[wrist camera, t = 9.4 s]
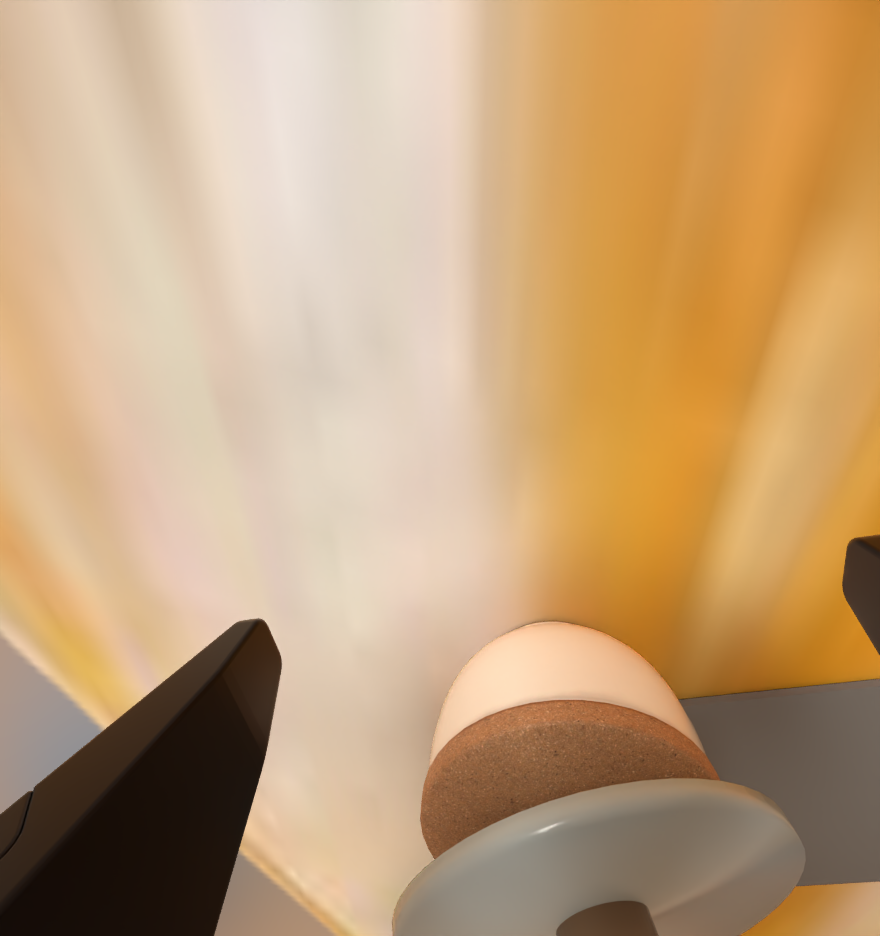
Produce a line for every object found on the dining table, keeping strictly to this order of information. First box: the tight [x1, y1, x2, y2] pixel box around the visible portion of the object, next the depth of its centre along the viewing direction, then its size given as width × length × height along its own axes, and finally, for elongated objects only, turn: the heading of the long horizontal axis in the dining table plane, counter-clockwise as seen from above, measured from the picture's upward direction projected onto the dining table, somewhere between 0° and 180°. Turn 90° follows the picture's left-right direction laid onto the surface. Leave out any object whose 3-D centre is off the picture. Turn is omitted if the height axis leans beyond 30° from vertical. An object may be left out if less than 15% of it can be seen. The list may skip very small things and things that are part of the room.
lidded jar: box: [420, 621, 720, 859], centre depth 22 cm, size 11×11×9 cm
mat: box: [679, 679, 880, 886], centre depth 30 cm, size 16×16×1 cm
